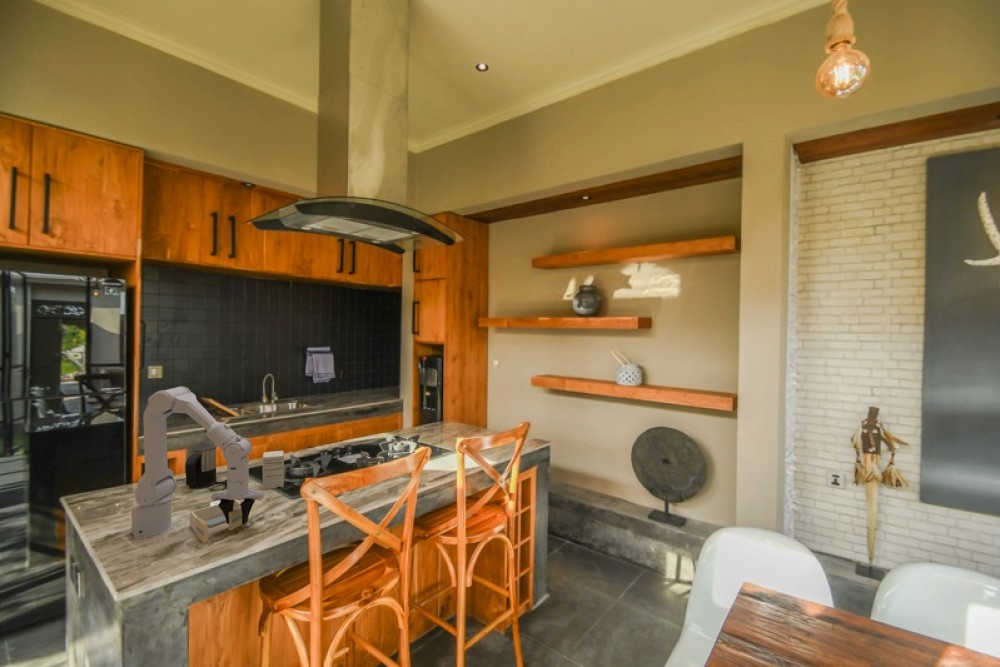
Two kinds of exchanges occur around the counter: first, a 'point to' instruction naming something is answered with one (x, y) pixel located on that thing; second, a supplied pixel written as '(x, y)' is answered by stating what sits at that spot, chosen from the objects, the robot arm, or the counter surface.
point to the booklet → (216, 521)
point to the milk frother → (202, 467)
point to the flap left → (201, 529)
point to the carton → (209, 514)
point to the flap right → (235, 518)
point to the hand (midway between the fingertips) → (237, 522)
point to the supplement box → (273, 469)
